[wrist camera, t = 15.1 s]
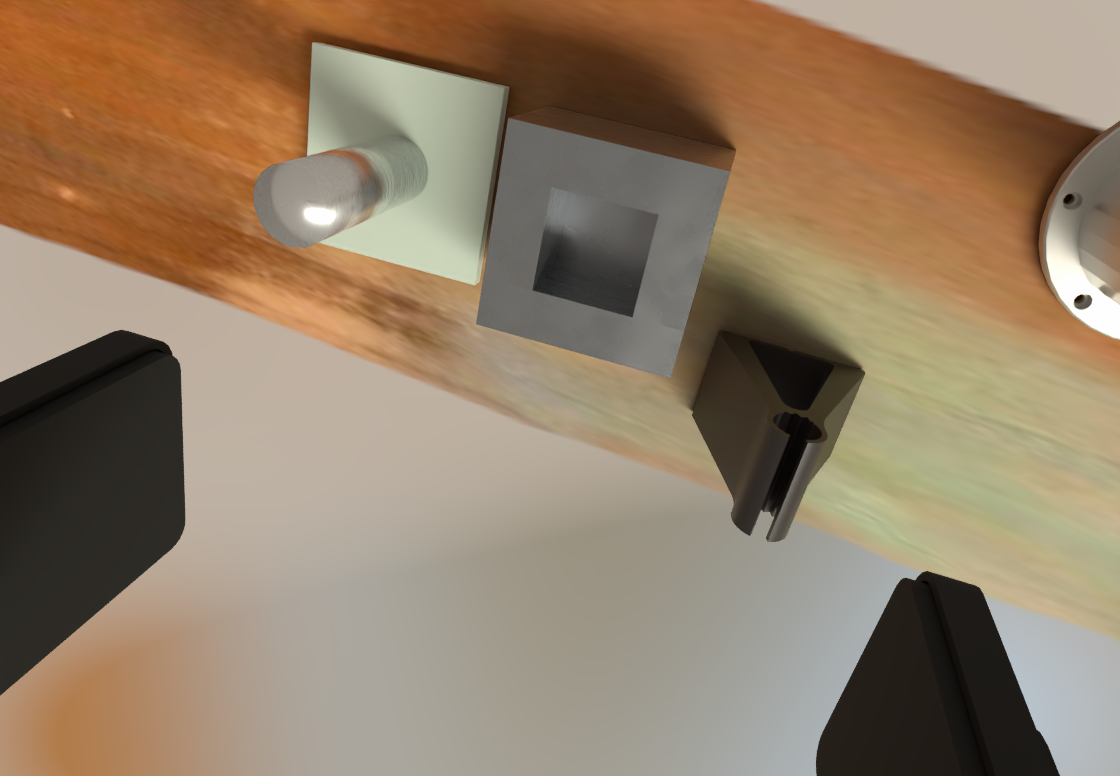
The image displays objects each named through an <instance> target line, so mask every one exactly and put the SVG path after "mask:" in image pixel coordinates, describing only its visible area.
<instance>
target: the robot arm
mask: <svg viewBox="0 0 1120 776" xmlns="http://www.w3.org/2000/svg"><path fill="white" fill-rule="evenodd" d="M1068 194H1071V195H1072V198H1071V200H1070V201H1069V202H1067V203H1064V202H1063V199H1064V198H1065V196H1066V195H1068ZM1038 246H1039V255H1040V263H1041V268H1042V271H1043V273H1044V276H1045V279H1046V282H1047V284H1048V286H1049V288H1050V289H1051V291H1052V292H1053V294H1054V295H1055V297H1056V298H1057V300H1058V301H1059V303H1060V304H1061V305H1062V306H1063V307H1064V308H1065V309H1066V310H1067V311H1068V312H1069V313H1070V314H1071V315H1073V316H1074V317H1075V318H1077V319H1078V320H1079V321H1081V322H1082V323H1083V324H1085V325H1086V326H1087V327H1089V328H1091V329H1093V330H1095V331H1097V332H1099V333H1101V334H1103V335H1106V336H1108V337H1110V338H1114V339H1118V340H1120V121H1119V122H1118V123H1116V124H1115V125H1113V126H1112V127H1110V128H1109V129H1107V130H1106V131H1104V132H1103V133H1102V134H1100V135H1099V136H1097V137H1096V138H1095V139H1094V140H1093V141H1092V142H1091V143H1090V144H1089V145H1088V146H1087V147H1086V148H1084V149H1083V150H1082V151H1081V152H1080V153H1079V154H1078V155H1077V156H1076V157H1075V159H1074V160H1073V161H1072V162H1071V164H1070V165H1069V166H1068V168H1067V169H1066V170H1065V171H1064V173H1063V174H1062V175H1061V177H1060V178H1059V180H1058V182H1057V184H1056V186H1055V188H1054V189H1053V191H1052V193H1051V195H1050V197H1049V199H1048V201H1047V204H1046V207H1045V211H1044V214H1043V217H1042V220H1041V224H1040V234H1039V244H1038ZM1081 294H1082V297H1081V299H1080V300H1078V301H1074V299H1075V298H1076V297H1077V296H1078V295H1081ZM184 526H185V494H184V462H183V431H182V398H181V369H180V364H179V362H178V360H177V359H176V358H175V357H174V356H172V351H171V350H170V348H169V346H168V345H167V344H166V343H164V342H162V341H159V340H156V339H152V338H148V337H146V336H142V335H139V334H136V333H132V332H129V331H124V330H119V331H115V332H112V333H110V334H107V335H105V336H103V337H101V338H98V339H96V340H94V341H92V342H89V343H87V344H85V345H83V346H80V347H78V348H76V349H74V350H71V351H69V352H67V353H65V354H62V355H60V356H58V357H56V358H53V359H51V360H49V361H47V362H45V363H42V364H40V365H38V366H36V367H33V368H31V369H29V370H27V371H25V372H22V373H20V374H18V375H16V376H13V377H11V378H9V379H6V380H4V381H2V382H0V695H1V694H2V693H4V692H5V691H6V690H7V689H8V688H9V687H10V686H12V685H13V684H14V683H15V682H16V681H18V680H19V679H20V678H21V677H22V676H24V675H25V674H26V673H27V672H28V671H29V670H31V669H32V668H33V667H34V666H35V665H36V664H38V663H39V662H40V661H41V660H42V659H43V658H45V657H46V656H47V655H48V654H49V653H50V652H52V651H53V650H54V649H55V648H56V647H57V646H59V645H60V644H61V643H62V642H63V641H64V640H66V639H67V638H68V637H69V636H70V635H71V634H72V633H74V632H75V631H76V630H77V629H78V628H80V627H81V626H82V625H83V624H84V623H85V622H87V621H88V620H89V619H90V618H91V617H93V616H94V615H95V614H96V613H97V612H98V611H100V610H101V609H102V608H103V607H104V606H105V605H107V604H108V603H109V602H110V601H111V600H112V599H113V598H115V597H116V596H117V595H118V594H119V593H121V592H122V591H123V590H124V589H125V588H126V587H128V586H129V585H130V584H131V583H132V582H133V581H135V580H136V579H137V578H138V577H139V576H140V575H142V574H143V573H144V572H145V571H146V570H147V569H148V568H150V567H151V566H152V565H153V564H154V563H156V562H157V561H158V560H159V559H160V558H161V557H162V556H163V555H165V554H166V553H167V552H169V551H170V550H171V549H172V548H173V547H174V546H175V545H176V543H177V542H178V540H179V539H180V537H181V535H182V533H183V530H184ZM816 773H817V776H1060V775H1059V773H1058V770H1057V768H1056V765H1055V763H1054V760H1053V758H1052V755H1051V753H1050V750H1049V747H1048V745H1047V744H1046V742H1045V740H1044V738H1043V736H1042V735H1041V733H1040V732H1039V731H1038V730H1036V728H1035V725H1034V722H1033V720H1032V717H1031V715H1030V712H1029V709H1028V707H1027V704H1026V702H1025V699H1024V697H1023V694H1022V692H1021V689H1020V687H1019V684H1018V681H1017V679H1016V676H1015V674H1014V671H1013V669H1012V666H1011V663H1010V661H1009V659H1008V656H1007V653H1006V651H1005V648H1004V646H1003V643H1002V641H1001V638H1000V635H999V633H998V630H997V628H996V625H995V623H994V620H993V618H992V615H991V612H990V610H989V607H988V605H987V602H986V600H985V597H984V595H983V593H982V591H981V589H980V588H979V587H977V586H975V585H972V584H968V583H965V582H962V581H958V580H955V579H952V578H948V577H945V576H942V575H938V574H935V573H932V572H928V571H926V572H922V573H921V574H920V575H919V576H918V577H917V579H916V580H911V579H908V578H903V579H902V580H901V581H900V582H899V583H898V585H897V586H896V588H895V590H894V592H893V594H892V596H891V598H890V600H889V602H888V604H887V606H886V608H885V610H884V612H883V614H882V616H881V618H880V620H879V622H878V624H877V626H876V627H875V630H874V631H873V634H872V635H871V637H870V639H869V641H868V643H867V645H866V648H865V649H864V651H863V654H862V655H861V657H860V659H859V661H858V663H857V665H856V667H855V669H854V671H853V673H852V675H851V677H850V679H849V681H848V683H847V685H846V687H845V689H844V691H843V693H842V695H841V697H840V699H839V701H838V703H837V705H836V707H835V709H834V711H833V713H832V715H831V717H830V719H829V721H828V723H827V725H826V727H825V729H824V731H823V733H822V735H821V738H820V741H819V745H818V750H817V757H816Z"/></svg>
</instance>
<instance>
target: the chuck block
mask: <svg viewBox="0 0 1120 776" xmlns="http://www.w3.org/2000/svg"><path fill="white" fill-rule="evenodd" d="M735 152H736V150H734V149H730V148H726V147H721V146H717V145H713V144H709V143H704V142H700V141H696V140H692V139H688V138H683V137H679V136H675V135H671V134H667V133H662V132H658V131H654V130H650V129H645V128H641V127H637V126H633V125H629V124H624V123H620V122H616V121H612V120H608V119H603V118H599V117H595V116H591V115H587V114H582V113H578V112H574V111H570V110H565V109H561V108H557V107H553V106H546V107H543V108H540V109H536V110H533V111H530V112H526V113H523V114H520V115H516V116H513V117H510V118H508V123H507V129H506V136H505V142H504V149H503V155H502V161H501V168H500V174H499V181H498V187H497V194H496V200H495V206H494V213H493V219H492V226H491V232H490V239H489V245H488V251H487V258H486V264H485V271H484V277H483V283H482V290H481V296H480V303H479V309H478V316H477V322H476V324H477V325H481V326H485V327H488V328H492V329H495V330H499V331H502V332H506V333H510V334H513V335H517V336H520V337H524V338H527V339H531V340H535V341H538V342H542V343H545V344H549V345H552V346H556V347H560V348H563V349H567V350H570V351H574V352H577V353H581V354H585V355H588V356H592V357H595V358H599V359H602V360H606V361H610V362H613V363H617V364H620V365H624V366H627V367H631V368H635V369H638V370H642V371H645V372H649V373H652V374H656V375H660V376H663V377H667V378H670V379H671V375H672V372H673V368H674V365H675V361H676V358H677V354H678V351H679V348H680V344H681V341H682V337H683V334H684V330H685V327H686V323H687V320H688V316H689V313H690V309H691V306H692V302H693V299H694V295H695V292H696V289H697V285H698V282H699V278H700V275H701V271H702V268H703V264H704V261H705V257H706V254H707V250H708V247H709V243H710V240H711V236H712V233H713V230H714V226H715V223H716V219H717V216H718V212H719V209H720V205H721V202H722V198H723V195H724V191H725V188H726V184H727V181H728V177H729V174H730V170H731V167H732V163H733V160H734V156H735Z"/></svg>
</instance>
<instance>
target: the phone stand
mask: <svg viewBox="0 0 1120 776" xmlns="http://www.w3.org/2000/svg"><path fill="white" fill-rule="evenodd" d="M864 375H865V372H864V371H863V370H861V369H858V368H854V367H851V366H847V365H844V364H840V363H837V362H833V361H829V360H826V359H822V358H819V357H815V356H812V355H808V354H804V353H801V352H797V351H790V350H788V349H787V348H783V347H779V346H776V345H772V344H769V343H765V342H762V341H758V340H754V339H751V338H747V337H744V336H740V335H737V334H733V333H729V332H726V331H719V333H718V336H717V339H716V342H715V346H714V349H713V352H712V355H711V358H710V361H709V364H708V367H707V370H706V373H705V377H704V380H703V383H702V386H701V389H700V392H699V395H698V398H697V401H696V404H695V408H694V411H693V414H692V416H693V418H694V420H695V422H696V424H697V426H698V428H699V430H700V432H701V434H702V436H703V438H704V440H705V442H706V444H707V446H708V448H709V450H710V452H711V454H712V456H713V458H714V460H715V462H716V464H717V466H718V468H719V470H720V472H721V474H722V476H723V478H724V480H725V482H726V484H727V486H728V488H729V490H730V492H731V494H732V497H733V501H734V507H733V509H732V512H731V518H732V520H733V522H734V524H735V525H736V526H737V527H738V528H739V529H740V530H741V531H743V532H744V533H746V534H748V535H749V536H750V535H751V533H752V531H753V529H754V526H755V524H756V521H757V519H758V516H759V513H760V511H761V510H762V511H763V512H770V513H771V515H772V516H773V517H774V520H773V522H772V525H771V527H770V529H769V532H768V534H767V537H766V539H767V541H768V542H776V541H780V540H782V539H784V538H785V537H786V535H787V533H788V531H789V528H790V526H791V523H792V521H793V519H794V516H795V514H796V512H797V509H798V507H799V505H800V502H801V500H802V497H803V495H804V493H805V490H806V488H807V486H808V484H809V483H810V481H811V480H812V479H813V477H814V476H815V475H816V474H817V472H818V471H819V470H820V468H821V467H822V466H823V464H824V463H825V462H826V461H827V459H828V458H829V457H830V455H831V452H832V450H833V448H834V445H835V443H836V441H837V438H838V436H839V434H840V431H841V429H842V427H843V424H844V422H845V420H846V417H847V415H848V413H849V410H850V408H851V406H852V403H853V401H854V398H855V396H856V394H857V391H858V389H859V387H860V384H861V382H862V380H863V377H864Z"/></svg>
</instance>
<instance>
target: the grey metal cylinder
mask: <svg viewBox="0 0 1120 776" xmlns="http://www.w3.org/2000/svg"><path fill="white" fill-rule="evenodd" d="M427 180H428V165H427V161H426V158H425V156H424V154H423V152H422V151H421V149H420V148H419V147H418V146H417V145H416V144H415V143H414V142H413V141H411V140H410V139H408V138H406V137H404V136H400V135H388V136H384V137H380V138H376V139H373V140H369V141H365V142H361V143H357V144H353V145H349V146H345V147H341V148H337V149H333V150H329V151H325V152H321V153H317V154H313V155H309V156H305V157H301V158H298V159H294V160H290V161H286V162H282V163H278V164H274V165H272V166H270V167H268V168H267V169H265V170H264V171H263V172H262V173H261V174H260V176H259V177H258V179H257V181H256V184H255V188H254V196H253V197H254V207H255V210H256V214H257V216H258V219H259V220H260V222H261V224H262V226H263V227H264V229H265V230H266V231H267V232H268V233H269V234H270V235H271V236H272V237H273V238H274V239H276V240H277V241H279V242H280V243H282V244H284V245H287V246H290V247H294V248H304V247H309V246H311V245H314V244H316V243H318V242H320V241H322V240H325V239H327V238H329V237H331V236H333V235H336V234H338V233H340V232H342V231H344V230H347V229H349V228H351V227H353V226H356V225H358V224H360V223H362V222H364V221H367V220H369V219H371V218H373V217H375V216H378V215H380V214H382V213H384V212H386V211H389V210H391V209H393V208H395V207H397V206H400V205H402V204H404V203H406V202H409V201H411V200H413V199H415V198H416V197H418V196H419V195H420V194H421V193H422V192H423V190H424V188H425V186H426V184H427Z"/></svg>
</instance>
